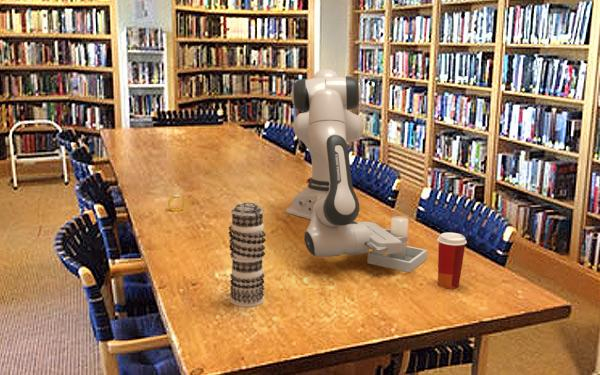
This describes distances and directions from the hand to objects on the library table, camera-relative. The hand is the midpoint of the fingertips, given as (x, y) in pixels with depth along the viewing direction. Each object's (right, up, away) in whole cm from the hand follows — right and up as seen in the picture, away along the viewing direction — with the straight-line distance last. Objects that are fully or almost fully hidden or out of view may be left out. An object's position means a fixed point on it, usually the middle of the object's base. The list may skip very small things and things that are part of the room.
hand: (401, 235), depth 187 cm
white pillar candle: (-1, -6, +1) cm, 7 cm away
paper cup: (+10, -12, -15) cm, 22 cm away
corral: (-1, -8, +2) cm, 8 cm away
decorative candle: (-44, -14, -28) cm, 54 cm away
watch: (-78, +5, +51) cm, 93 cm away
